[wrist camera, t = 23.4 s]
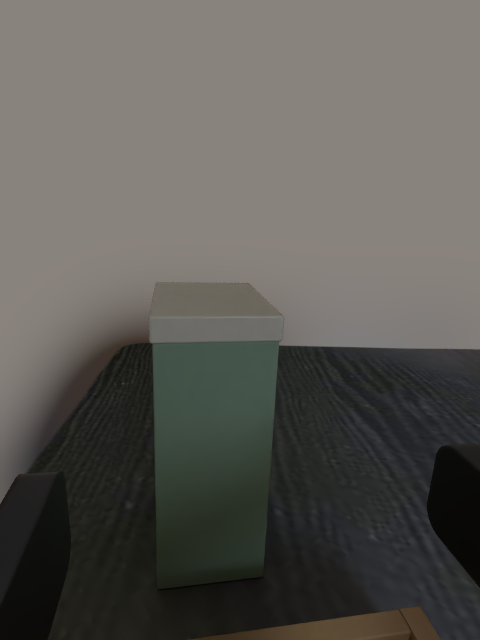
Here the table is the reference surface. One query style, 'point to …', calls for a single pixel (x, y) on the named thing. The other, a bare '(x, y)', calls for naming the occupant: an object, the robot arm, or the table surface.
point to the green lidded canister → (212, 429)
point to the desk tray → (348, 628)
